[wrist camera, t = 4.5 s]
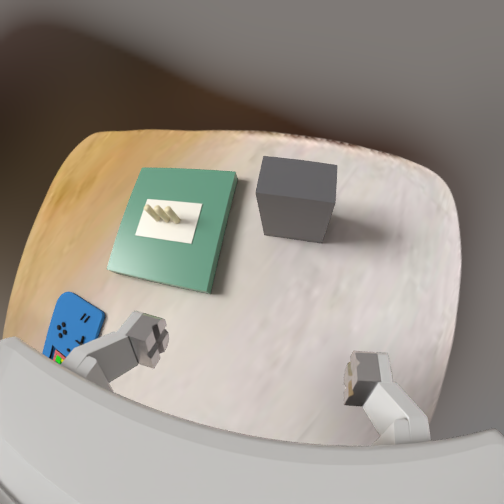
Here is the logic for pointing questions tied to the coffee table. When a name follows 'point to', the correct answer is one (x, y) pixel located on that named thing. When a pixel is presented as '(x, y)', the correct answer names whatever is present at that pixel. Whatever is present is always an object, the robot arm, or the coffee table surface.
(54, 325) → the handheld gaming device
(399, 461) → the robot arm
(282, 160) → the block
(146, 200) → the board
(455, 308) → the coffee table surface
